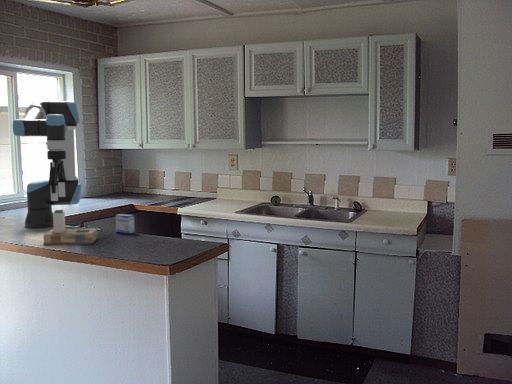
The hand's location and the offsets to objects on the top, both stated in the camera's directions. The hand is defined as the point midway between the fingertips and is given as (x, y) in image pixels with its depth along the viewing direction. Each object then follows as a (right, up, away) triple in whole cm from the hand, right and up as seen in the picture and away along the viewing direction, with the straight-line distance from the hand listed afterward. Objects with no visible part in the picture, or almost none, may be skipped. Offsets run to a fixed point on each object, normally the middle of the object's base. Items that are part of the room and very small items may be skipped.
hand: (58, 198), depth 232 cm
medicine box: (+23, -17, +25) cm, 38 cm away
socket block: (+5, -19, +2) cm, 20 cm away
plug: (0, -18, +2) cm, 18 cm away
